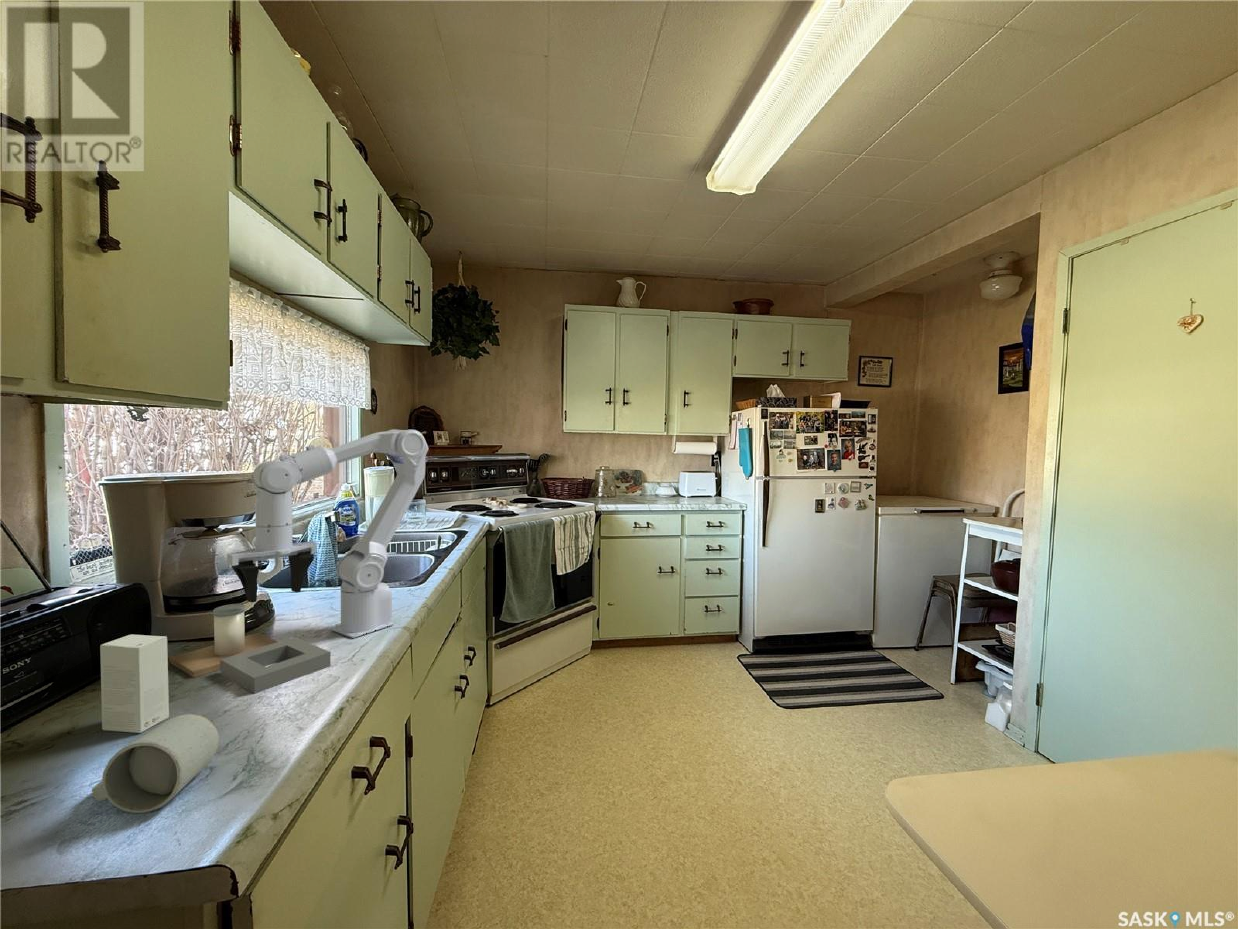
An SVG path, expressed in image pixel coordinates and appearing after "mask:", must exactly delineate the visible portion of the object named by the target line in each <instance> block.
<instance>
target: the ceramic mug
mask: <svg viewBox="0 0 1238 929" xmlns="http://www.w3.org/2000/svg"><path fill="white" fill-rule="evenodd" d="M219 745H220V733H219V730H218V727H217V726H216V725H215V723H214V722H213V721H211V719H210V718H208V717H206V716H204V715H201V714H196V713H186V714H181V715H178V716H175V717H173V718H170V719H168V720H166V721H163V722H161V724H159V725H158V726H156V727H155V728H154V729H152V730H150V731H148V732H147V733H145V734H143V735H141V736H140V737H138V738H137V739H135V740H134V741H132V742H130V743H129V744H127V745H126V746H124V747H122V748H121V749H119V750H118V751H117V752H116V753H115V754H114V755H113V756H112V757H111V758H110V759H109V761H108V762H107V764H106V766H105V768H104V770H103V772H102V779H101V781H100V782H98V783H97V784H95V785H94V786H93V787H92V788H91V792H92V794H93V797H94V799H95V800H96V801H97V802H99V803H100V802H103V801H106V800H108V802H109V803H111V804H112V805H113V806H114V807H116V808H117V809H119V810H121V811H123V812H127V813H131V814H143V813H144V814H145V813H150V812H154V811H155V810H158V809H160V808H162V807H164V806H165V805H166V804H167V803H169V802H170V801H171V800H172V799H173V798H175V796H177V794H179V792H180V791H182V790H183V789H184V788H185V787H186V786H187V784H189V783H190V782H191V781H192V780H193V779H194V778H195V777H196V776H197V775H198V774H199V773H200V772H201V771H202V770H203V769H204V768H205V767H206V766H208V764H210V762H211V760H212V759H213V758H214V756H215V754H216V753H217V751H218V749H219V747H220V746H219Z"/></svg>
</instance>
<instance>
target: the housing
mask: <svg viewBox="0 0 1238 929" xmlns="http://www.w3.org/2000/svg"><path fill="white" fill-rule="evenodd" d="M328 667H331V651H329V650H327V649H324V648H323V647H320V646H317V645H315V644H312V643H310V642H308V641H305V640H303V639H300V638H298V637H296V636H294V637H290V638H288V639H284V640H281V641H278V642H277V643H273V644H270V645H267V646H263V647H260V648H257V649H253V650H250V651H247V652H243V653H240V654H237V655H233V656H230V657H227V658H224V659H220V669H219V670H220V671H219V672H220V675H222V676H223V677H225V678H227V679H228V680H230V681H232V682H234V683H235V684H237V685H239V686H240V687H242V688H244V689H246V690H248V691H249V692H251V693H253V694H256V693H261V692H263V691H265V690H267V689H268V690H269V689H271V688H273V687H277V686H278V685H281V684H286V683H287V682H289V681H292V680H294V679H298V678H301V677H303V676H305V675H309V674H311V673H314V672H317V671H320V670H323V669H325V668H328Z"/></svg>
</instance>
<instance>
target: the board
mask: <svg viewBox="0 0 1238 929" xmlns="http://www.w3.org/2000/svg"><path fill="white" fill-rule="evenodd" d="M277 642H279V641H278V640H276V639H273V638H271V637H269V636H266V635H264V634H262V633H260V632H257V633H253V634H249V635H246V636H245V649H244V650H243V651H241V652H239V653H236V654H232V655H226V656H217V655H215V644H213V645H210V646H206V647H205V646H204V647H202V648H201V647H200V648H199V649H195V650H192V651H191V650H190V651H188V652H184V653H180V654H177V655H176V654H175V655H173V656H170V657H169V664H171V665H173V666H175V667H176V668H177V669H179V670H181V671H182V672H184V673H185V674H187V675H189V676H191V677H192V678H198V677H200V676H204V675H206V674H210V673H213V672H216V671H219V670H220V659H224V658H227V657H230V656H233V655H237V654H240V653H243V652H247V651H250V650H253V649H257V648H260V647H263V646H267V645H270V644H273V643H277Z"/></svg>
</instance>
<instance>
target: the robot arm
mask: <svg viewBox="0 0 1238 929" xmlns="http://www.w3.org/2000/svg"><path fill="white" fill-rule="evenodd" d="M305 449H306V450H302V451H299V452H296V453H293V454H290V455H287V454H285V453H284V454H281V455H279V456H278V457H279V460H267V461H263V462H261V463H259V464H258V465H257V466H256V467H255V468H254V470H253V472H252V474H251V476H250V479H251V481H252V483H253V486H255V487H256V492H255V494H256V499H255V547H254V548H250V549H245V550H241V551H240V550H239V551H235V552H231V553H226V565H228V566H231V568H232V570H233V571H234V573H235V575H236V576H237V577H238V580H240V583H241V585H242V588H243V590H244V594H245V598H246V601H247V602H249V603H257V599H258V587H257V584H258V578H259V572H260V568H261V567H260V566H258V565H256V563H254V562H259V561H265V560H272V559H277V558H278V559H279V558H284V557H287V558H288V563H289V568H290V589H291V590H290V591H292V592H295V593H300V592H301V590H302V586H303V583H304V579H305V577H306V574H307V571H308V570H309V568H310V566H311V564H312V563H313V561H314V560H315V555H314V554H313V553H317V548H318V547H317V546H318V545H317V542H316V541H305V542H304V541H303V542H294V543H293V493H292V491H293V489H294V487H295V486H296V484H297V485H300V484H303V483H306V482H308V481H309V482H310V481H311V480H314V479H317V478H320V477H322V476H325V475H328V474H331V473H333V471H334V470H335V468H336V467H337V465H339V464H341V463H343V462H348V461H351V460H354V459H358V458H360V457H364V456H366V455H370V454H373V453H381V454H384V456H386V457H387V458H388V459H389V461H390V462H391V463H392V465H393V467H394V469H395V472H396V477H395V478H394V479H393V482H392V484H391V486H390V488H389V489H388V491H387V493H386V495H385V497H384V498H383V500H382V502H381V504H380V506H379V507H378V509H377V511H376V513H375V515H374V516H373V518H372V520H371V522H370V523H369V525H368V527H367V529H366V530H365V533H364V534H363V536H362V538H361V539H360V540H359V541H357V542H356V543H354V544H353V545H352V547H351V548H350V549H349V551H348V552H347V553H346V554H345V555H344V556H342V557H341V558H340V559H339V561H337V565H336V574H337V576H338V578H339V579H340V580H342V583H341V585H340V624H339V625H337V626H333V627H331V631H333V632H336V633H338V634H341V635H343V636H346V637H349V638H351V639H355V638H358V637H361V636H364V635H367V634H370V633H372V632H376V631H379V630H382V629H385V628H387V626H388V627H390V626H393V625H394V624H395V622H393V621H392V620H393V619H392V618H393V617H392V616H393V615H392V614H393V613H392V612H393V607H392V606H393V603H392V602H393V601H392V600H393V599H392V598H393V597H392V591H391V588H390V587H389V586H388V584H387V583H385V582H382V580H383V579H384V574H385V570H384V569H385V566H386V564H387V562H388V553H387V549H388V546H389V544H390V543H391V541H392V539H393V537H394V535H395V533H396V531H397V530H398V528H399V526H400V524H401V522H402V520H403V518H404V517H405V514H406V512H407V510H408V509H409V507H410V505H411V503H412V501H413V500H414V498H415V496H416V494H417V492H418V491H419V488H420V487H421V485H422V483H423V481H424V479H425V476H426V461H427V460H426V456H427V453H428V452H429V450H430V449H429V446H428V443H427V441H426V439H425V437H424V435H423V434H422V433H421V432H420V431H418V430H416V429H396V428H395V429H394V428H393V429H389V430H387V431H377V432H374V433H370V434H368V435H366V436H362V437H359V438H357V439H354V440H352V441H349V442H346V443H344V444H341V445H338V446H335V447H333V448H327V447H325V446H322V445H319V446H318V445H317V446H316V445H315V444H311V445H307V446H305ZM375 630H376V631H375ZM366 633H367V634H366ZM363 634H364V635H363Z"/></svg>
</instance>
